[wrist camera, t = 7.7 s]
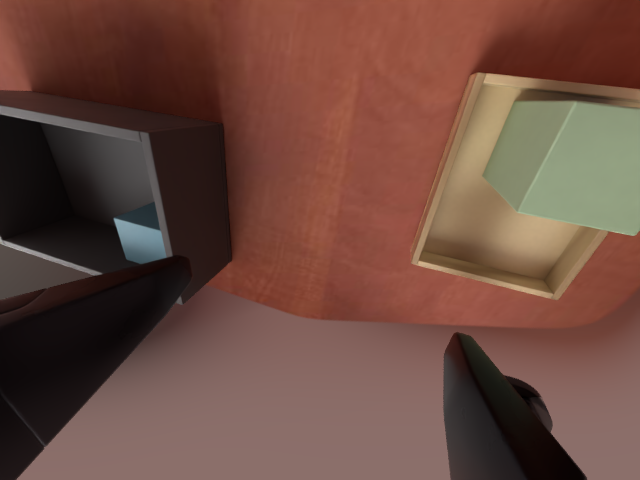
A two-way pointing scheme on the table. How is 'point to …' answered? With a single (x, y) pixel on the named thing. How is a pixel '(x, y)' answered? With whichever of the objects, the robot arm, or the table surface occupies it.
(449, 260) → the wooden tray
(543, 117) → the sage block
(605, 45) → the table surface
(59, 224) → the dark grey open box
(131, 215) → the teal block
